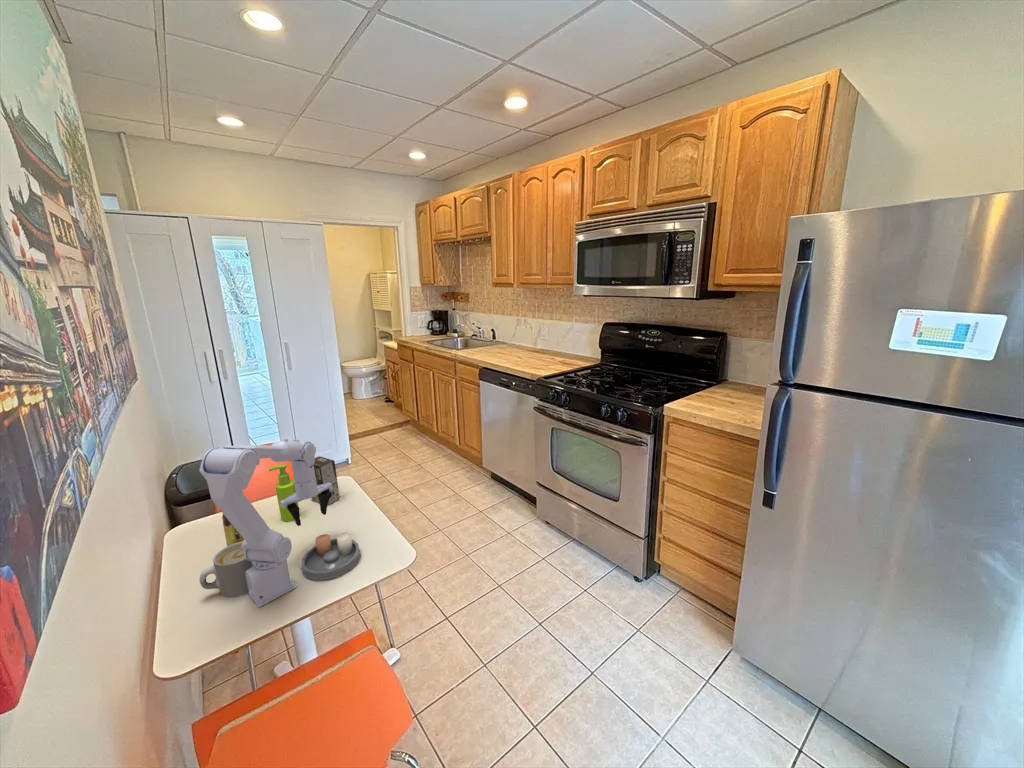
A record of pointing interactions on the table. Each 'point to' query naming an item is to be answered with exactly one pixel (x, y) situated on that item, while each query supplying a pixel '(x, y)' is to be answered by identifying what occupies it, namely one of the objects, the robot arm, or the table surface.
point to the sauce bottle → (231, 532)
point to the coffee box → (326, 477)
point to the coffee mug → (228, 571)
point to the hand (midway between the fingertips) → (311, 518)
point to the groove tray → (329, 563)
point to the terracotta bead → (323, 544)
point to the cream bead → (345, 544)
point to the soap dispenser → (284, 491)
